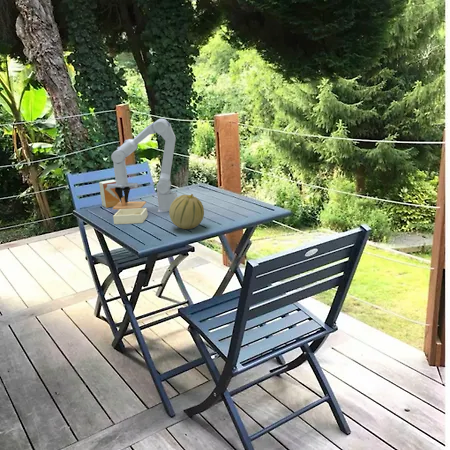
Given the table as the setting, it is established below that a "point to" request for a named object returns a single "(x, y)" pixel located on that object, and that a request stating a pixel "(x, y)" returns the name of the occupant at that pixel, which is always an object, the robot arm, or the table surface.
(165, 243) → the table surface
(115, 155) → the robot arm
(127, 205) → the lid
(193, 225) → the cantaloupe
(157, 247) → the table surface
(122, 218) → the tub
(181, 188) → the table surface
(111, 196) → the small box
